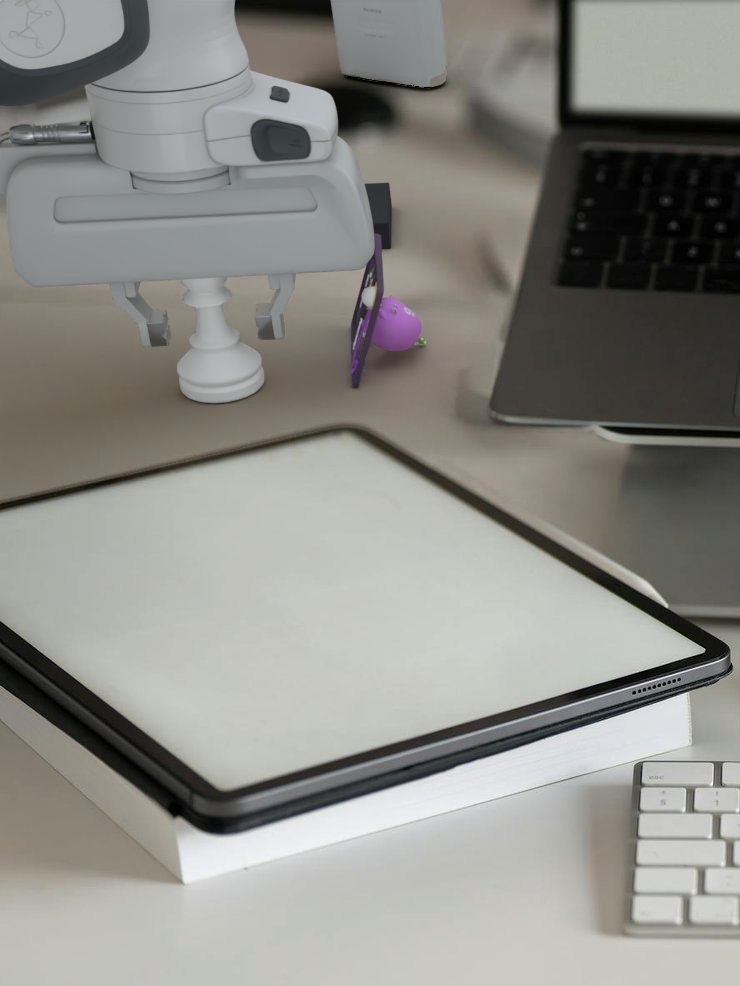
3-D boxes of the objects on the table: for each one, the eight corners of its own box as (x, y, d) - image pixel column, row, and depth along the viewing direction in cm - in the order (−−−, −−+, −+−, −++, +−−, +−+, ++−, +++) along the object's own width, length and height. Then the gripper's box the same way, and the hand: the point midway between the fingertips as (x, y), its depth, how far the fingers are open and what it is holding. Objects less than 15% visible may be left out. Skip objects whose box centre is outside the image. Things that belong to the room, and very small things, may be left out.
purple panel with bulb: (363, 229, 109) (365, 287, 102) (443, 249, 111) (451, 307, 104) (339, 321, 112) (339, 384, 105) (417, 339, 114) (423, 402, 107)
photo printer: (332, 78, 155) (315, -62, 148) (359, 65, 158) (343, -72, 152) (430, 94, 152) (417, -48, 145) (455, 80, 155) (443, -59, 149)
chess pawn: (282, 384, 105) (260, 249, 100) (211, 412, 102) (186, 274, 97) (234, 359, 108) (211, 226, 103) (164, 386, 105) (137, 250, 100)
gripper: (-33, 145, 91) (24, 374, 99) (357, 129, 95) (384, 352, 102) (-10, 106, 96) (43, 327, 104) (360, 93, 100) (385, 307, 108)
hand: (215, 339), depth 103 cm, fingers open, 5 cm apart
